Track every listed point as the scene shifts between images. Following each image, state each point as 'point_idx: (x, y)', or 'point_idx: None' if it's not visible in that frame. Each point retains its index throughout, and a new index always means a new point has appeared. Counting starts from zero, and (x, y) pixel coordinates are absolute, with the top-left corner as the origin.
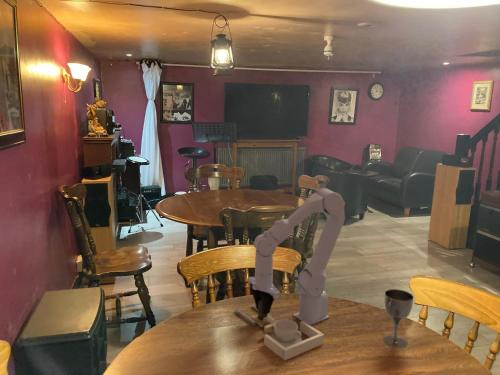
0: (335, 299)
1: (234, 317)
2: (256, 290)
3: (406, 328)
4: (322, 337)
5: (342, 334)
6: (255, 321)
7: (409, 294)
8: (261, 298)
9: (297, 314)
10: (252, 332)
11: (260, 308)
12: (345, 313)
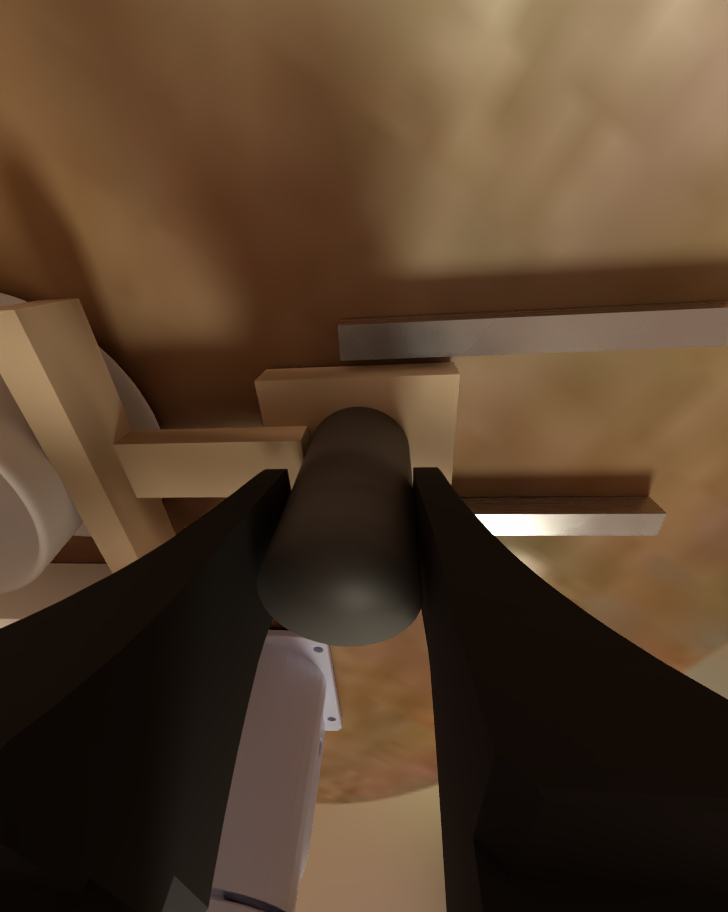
0: (364, 797)
1: (643, 212)
2: (492, 847)
3: None
4: None
5: None
6: (353, 358)
7: None
8: (78, 660)
9: (308, 651)
10: (224, 222)
11: (313, 486)
12: None
